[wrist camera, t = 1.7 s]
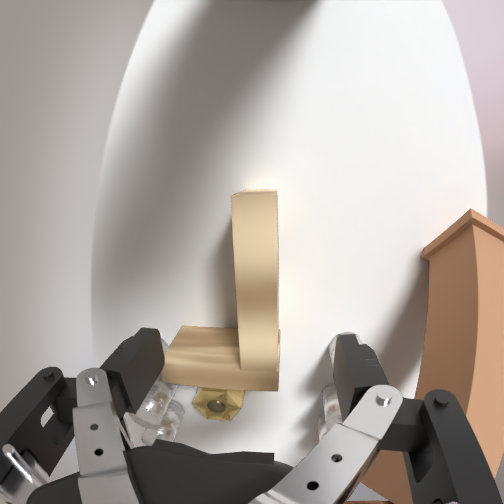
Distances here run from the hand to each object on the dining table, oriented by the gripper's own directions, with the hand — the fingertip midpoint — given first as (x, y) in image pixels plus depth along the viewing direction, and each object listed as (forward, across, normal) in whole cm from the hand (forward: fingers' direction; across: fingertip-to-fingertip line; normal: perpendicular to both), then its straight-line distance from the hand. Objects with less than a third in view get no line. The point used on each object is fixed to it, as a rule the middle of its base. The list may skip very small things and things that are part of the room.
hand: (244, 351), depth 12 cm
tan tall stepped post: (+12, -14, +10) cm, 21 cm away
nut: (+12, +4, +13) cm, 18 cm away
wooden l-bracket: (+12, +3, +1) cm, 12 cm away
